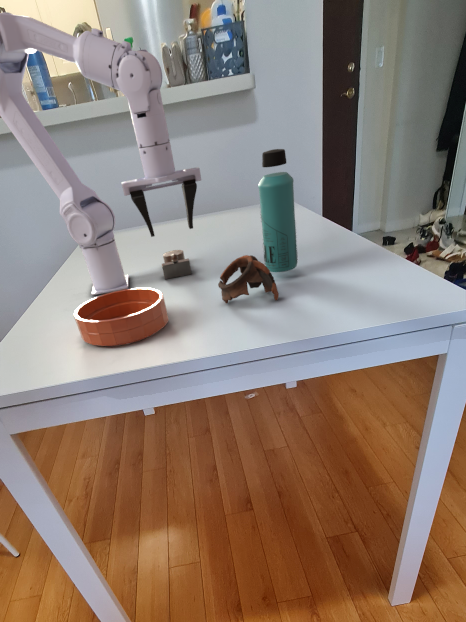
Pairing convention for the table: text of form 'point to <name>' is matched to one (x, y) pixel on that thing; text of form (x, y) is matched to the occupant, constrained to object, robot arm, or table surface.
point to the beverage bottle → (278, 215)
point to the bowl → (121, 316)
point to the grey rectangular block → (176, 268)
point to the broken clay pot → (246, 278)
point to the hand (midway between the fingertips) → (171, 231)
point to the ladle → (173, 256)
